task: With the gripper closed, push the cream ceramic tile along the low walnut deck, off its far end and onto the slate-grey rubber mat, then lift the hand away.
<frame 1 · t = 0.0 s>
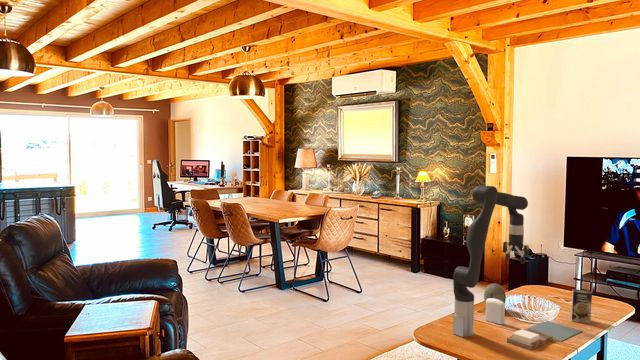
hand: (515, 262, 284), 29 cm above the table, tool pointing down, fingers open, 8 cm apart
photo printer: (494, 322, 275), on the table
decorative egg: (494, 309, 295), on the table
deck: (529, 341, 249), on the table
coffee box: (580, 321, 277), on the table
tile: (525, 339, 246), point 2 cm above the table, touching deck
mat: (553, 330, 262), on the table
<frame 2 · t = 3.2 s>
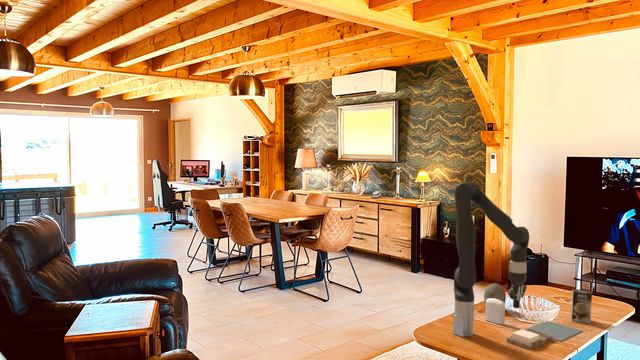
hand: (516, 307, 239), 19 cm above the table, tool pointing down, fingers closed
nothing on the table moved.
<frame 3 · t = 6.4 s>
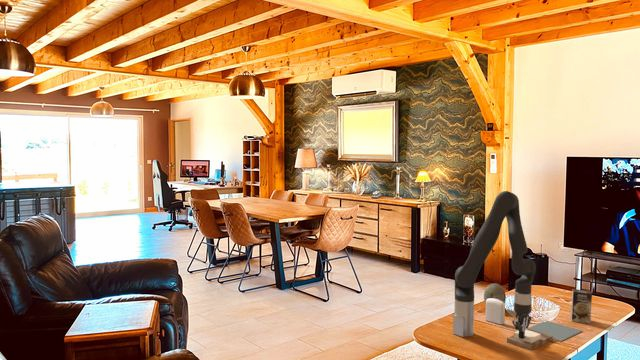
hand: (521, 338, 243), 3 cm above the table, tool pointing down, fingers closed
tile: (527, 338, 247), point 2 cm above the table, touching deck, gripper
everything else where it was.
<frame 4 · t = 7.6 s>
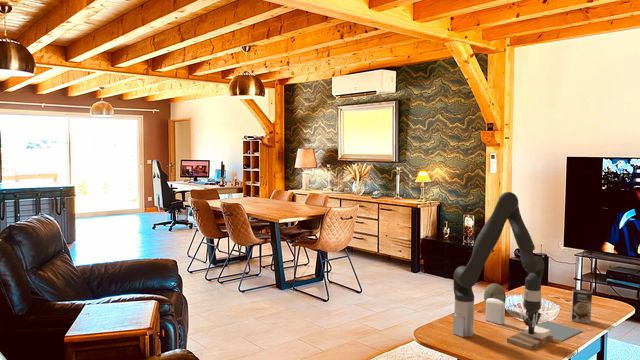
hand: (531, 334, 248), 3 cm above the table, tool pointing down, fingers closed
tile: (536, 334, 252), point 2 cm above the table, touching gripper
everything else where it was.
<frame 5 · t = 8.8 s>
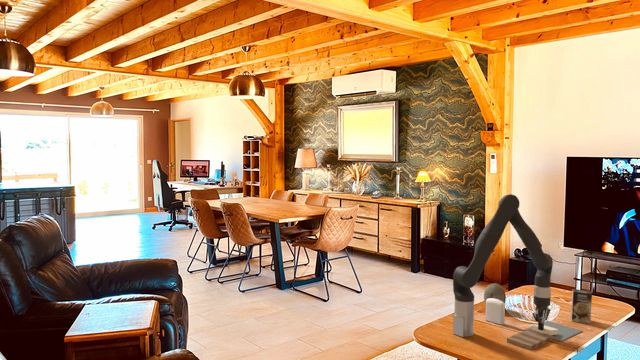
hand: (540, 329, 254), 4 cm above the table, tool pointing down, fingers closed
tile: (545, 332, 257), point 1 cm above the table, tilted 9°, touching gripper
everything else where it was.
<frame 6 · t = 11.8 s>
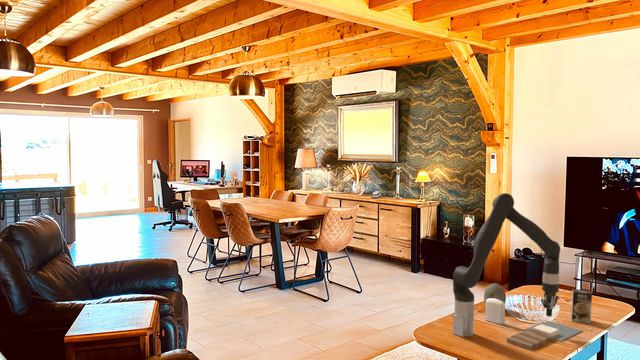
hand: (549, 316, 258), 9 cm above the table, tool pointing down, fingers closed
tile: (545, 333, 257), resting on mat
everything else where it was.
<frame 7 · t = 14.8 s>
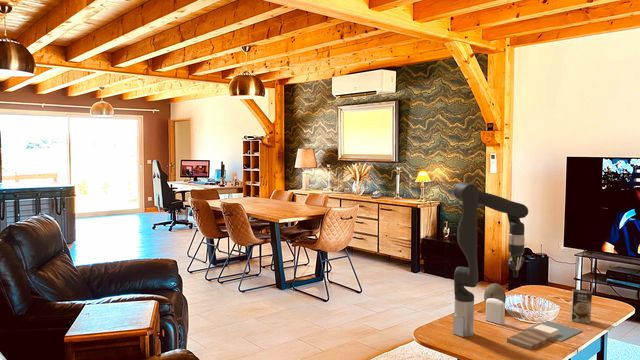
hand: (515, 277, 262), 27 cm above the table, tool pointing down, fingers closed
nothing on the table moved.
at the end: tile inside the target area (7.6 cm from its centre), resting on mat; tile touching mat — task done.
